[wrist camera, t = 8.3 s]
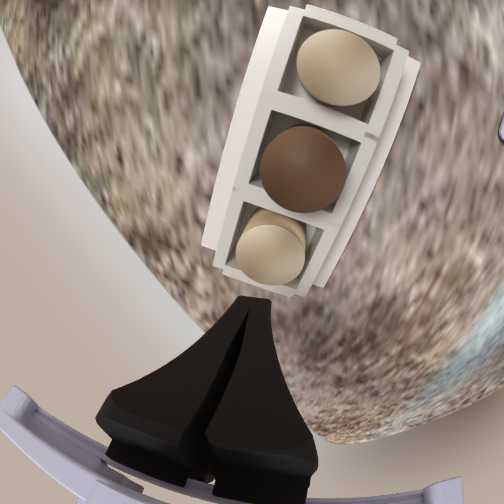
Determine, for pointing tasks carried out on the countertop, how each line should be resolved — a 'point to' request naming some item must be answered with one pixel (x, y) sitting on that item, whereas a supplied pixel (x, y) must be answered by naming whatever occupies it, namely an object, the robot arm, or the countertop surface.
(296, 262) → the maple plug
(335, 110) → the white compartment tray
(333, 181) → the walnut plug
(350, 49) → the maple plug
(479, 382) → the countertop surface
